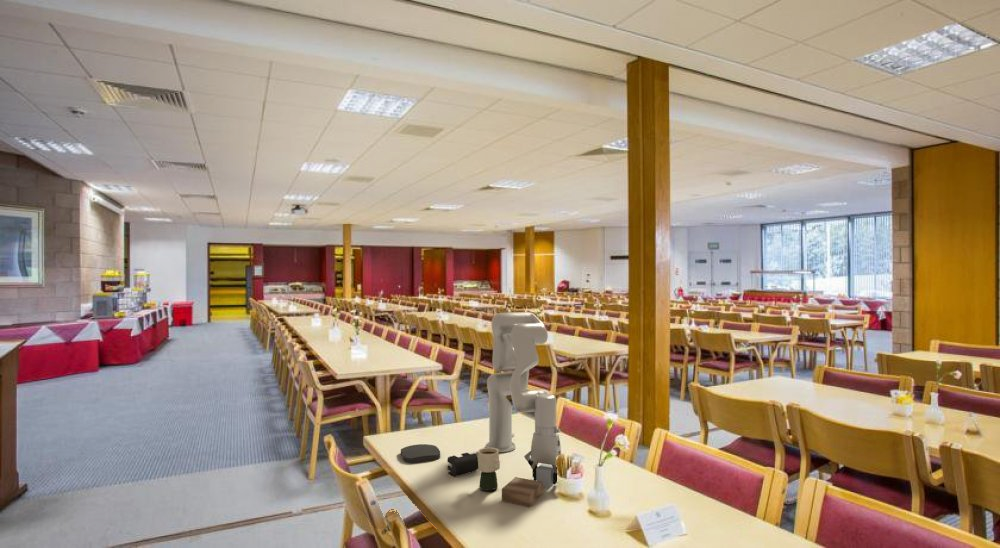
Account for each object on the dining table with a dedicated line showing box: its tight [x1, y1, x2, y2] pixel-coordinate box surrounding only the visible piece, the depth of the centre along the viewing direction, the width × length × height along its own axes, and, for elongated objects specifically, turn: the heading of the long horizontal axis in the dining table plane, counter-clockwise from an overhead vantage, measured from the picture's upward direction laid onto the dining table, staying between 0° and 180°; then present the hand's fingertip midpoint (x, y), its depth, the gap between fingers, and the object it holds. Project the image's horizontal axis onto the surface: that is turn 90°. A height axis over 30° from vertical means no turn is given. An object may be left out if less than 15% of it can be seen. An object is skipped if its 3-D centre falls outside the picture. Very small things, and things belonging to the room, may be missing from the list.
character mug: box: [477, 447, 501, 491], centre depth 181 cm, size 11×7×13 cm, turn 43°
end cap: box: [446, 452, 479, 478], centre depth 195 cm, size 10×7×7 cm
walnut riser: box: [501, 476, 544, 508], centre depth 174 cm, size 11×10×4 cm
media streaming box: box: [400, 443, 441, 464], centre depth 214 cm, size 15×15×3 cm
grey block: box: [536, 463, 554, 489], centre depth 185 cm, size 5×5×6 cm
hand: (545, 480), depth 185 cm, fingers open, 6 cm apart
